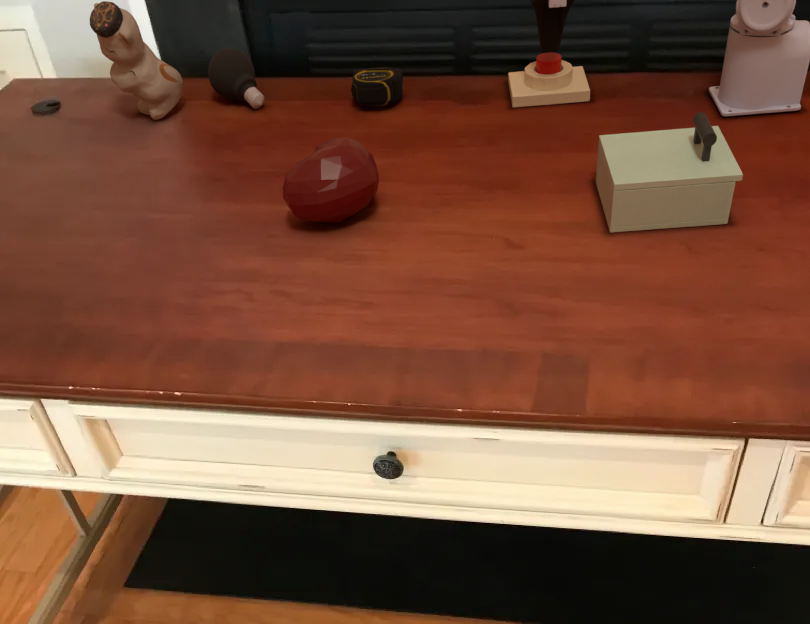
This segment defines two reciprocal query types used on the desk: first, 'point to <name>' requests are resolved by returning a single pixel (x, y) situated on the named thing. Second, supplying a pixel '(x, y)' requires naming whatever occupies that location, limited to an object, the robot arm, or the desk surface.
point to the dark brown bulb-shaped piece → (234, 77)
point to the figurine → (135, 61)
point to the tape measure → (377, 86)
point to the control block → (548, 86)
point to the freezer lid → (669, 157)
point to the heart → (332, 182)
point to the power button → (548, 63)
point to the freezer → (662, 204)
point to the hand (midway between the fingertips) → (549, 50)
